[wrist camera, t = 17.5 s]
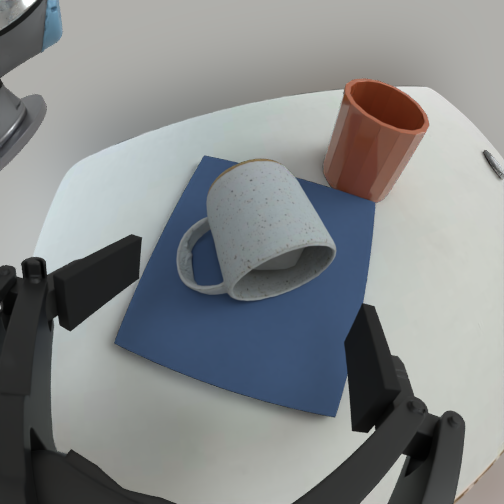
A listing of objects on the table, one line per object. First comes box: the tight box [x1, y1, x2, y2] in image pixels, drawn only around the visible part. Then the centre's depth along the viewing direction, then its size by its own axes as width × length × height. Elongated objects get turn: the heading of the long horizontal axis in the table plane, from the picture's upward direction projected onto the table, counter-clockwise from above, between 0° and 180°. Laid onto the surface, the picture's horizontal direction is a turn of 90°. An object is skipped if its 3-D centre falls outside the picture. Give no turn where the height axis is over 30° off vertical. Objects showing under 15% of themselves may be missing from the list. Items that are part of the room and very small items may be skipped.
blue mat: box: [114, 156, 375, 417], centre depth 24 cm, size 18×20×1 cm
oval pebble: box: [484, 150, 504, 179], centre depth 32 cm, size 6×2×1 cm, turn 10°
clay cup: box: [323, 79, 429, 203], centre depth 24 cm, size 8×8×10 cm
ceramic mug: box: [176, 159, 336, 301], centre depth 20 cm, size 11×8×8 cm
